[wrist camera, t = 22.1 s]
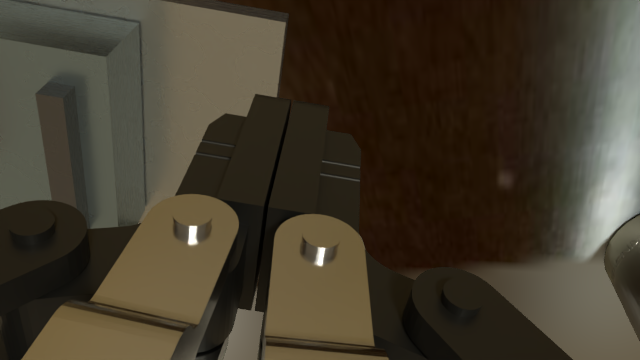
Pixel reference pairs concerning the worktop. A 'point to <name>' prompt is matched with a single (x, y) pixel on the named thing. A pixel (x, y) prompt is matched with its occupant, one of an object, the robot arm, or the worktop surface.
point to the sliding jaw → (71, 113)
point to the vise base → (192, 72)
